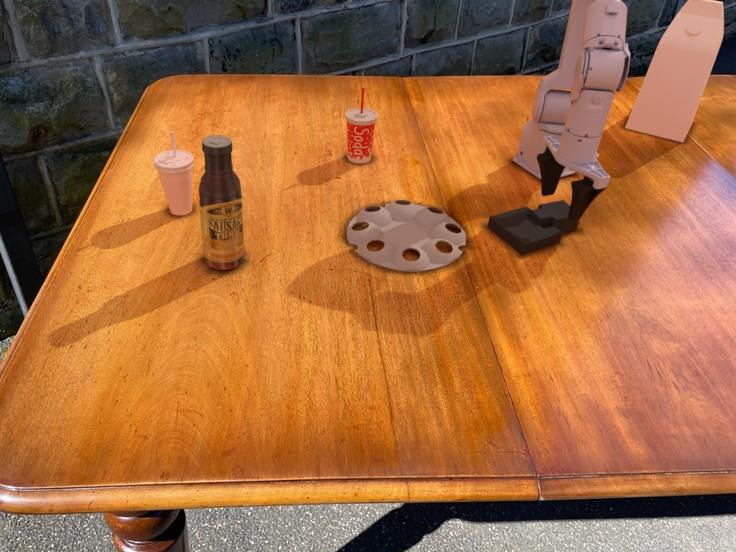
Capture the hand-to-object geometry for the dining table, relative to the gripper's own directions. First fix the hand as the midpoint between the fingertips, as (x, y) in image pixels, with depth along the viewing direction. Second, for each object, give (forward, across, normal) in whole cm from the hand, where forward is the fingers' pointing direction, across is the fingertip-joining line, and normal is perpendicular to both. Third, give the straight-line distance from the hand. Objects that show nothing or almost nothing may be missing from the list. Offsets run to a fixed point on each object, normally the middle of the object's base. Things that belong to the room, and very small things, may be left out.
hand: (560, 205), depth 106 cm
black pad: (+4, -1, +7) cm, 8 cm away
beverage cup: (+4, +32, +23) cm, 40 cm away
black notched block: (+4, 0, +1) cm, 4 cm away
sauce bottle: (+4, +8, +55) cm, 56 cm away
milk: (+4, +27, -46) cm, 53 cm away
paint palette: (+4, +5, +26) cm, 27 cm away
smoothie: (+4, +24, +59) cm, 64 cm away
